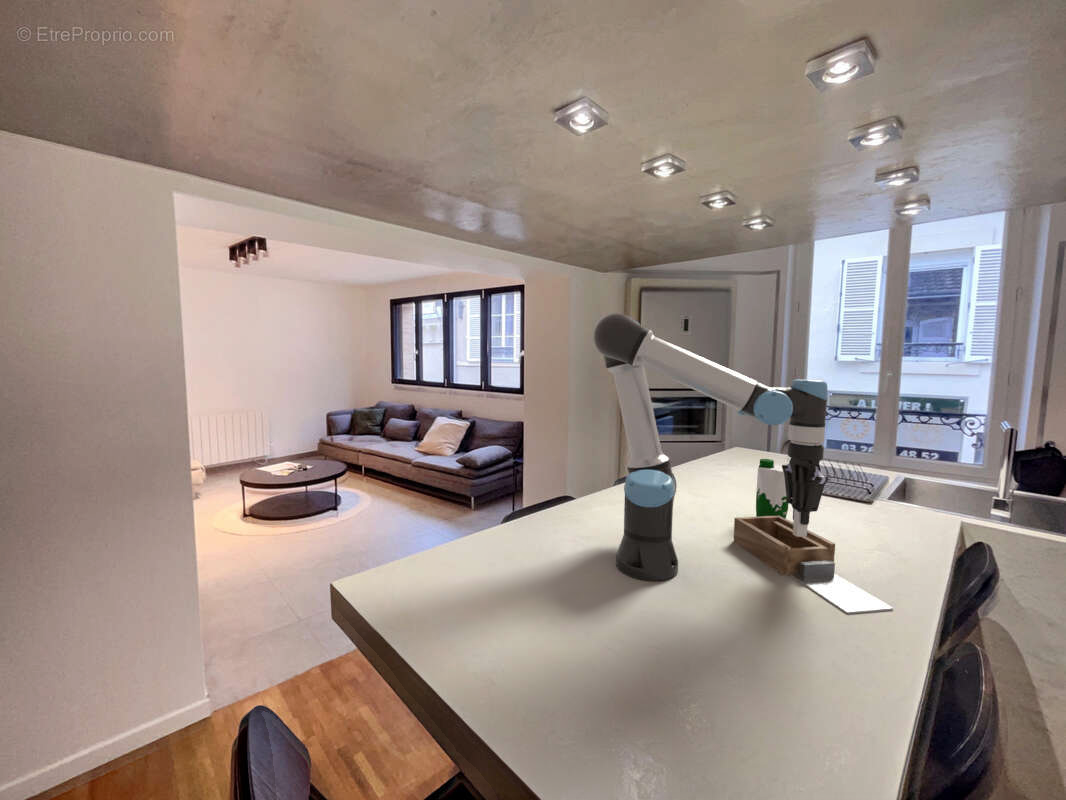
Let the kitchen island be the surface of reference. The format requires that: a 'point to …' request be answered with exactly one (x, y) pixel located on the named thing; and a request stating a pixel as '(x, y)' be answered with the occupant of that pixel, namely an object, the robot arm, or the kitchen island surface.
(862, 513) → the kitchen island surface
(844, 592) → the cover plate
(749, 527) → the box
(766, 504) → the milk carton
